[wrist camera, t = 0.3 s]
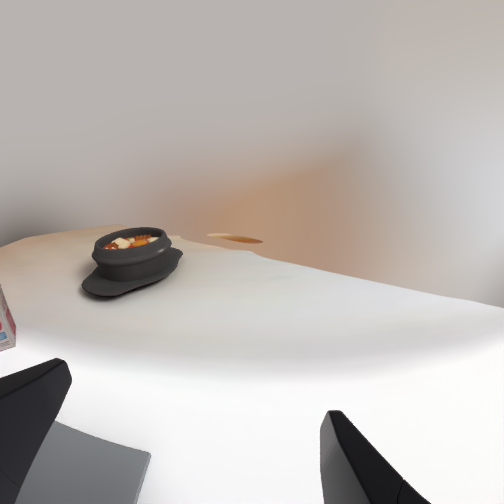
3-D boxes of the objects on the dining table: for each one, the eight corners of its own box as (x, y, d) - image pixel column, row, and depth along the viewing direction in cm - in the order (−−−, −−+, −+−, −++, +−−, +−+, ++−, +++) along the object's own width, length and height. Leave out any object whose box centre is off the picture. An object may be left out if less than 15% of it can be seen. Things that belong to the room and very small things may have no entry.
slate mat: (118, 568, 6) (114, 567, 6) (-13, 486, 7) (-16, 483, 7) (151, 455, 19) (149, 452, 18) (31, 411, 19) (29, 408, 19)
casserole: (127, 315, 40) (115, 267, 37) (67, 291, 47) (57, 252, 44) (202, 259, 62) (200, 223, 59) (142, 250, 68) (138, 219, 65)
